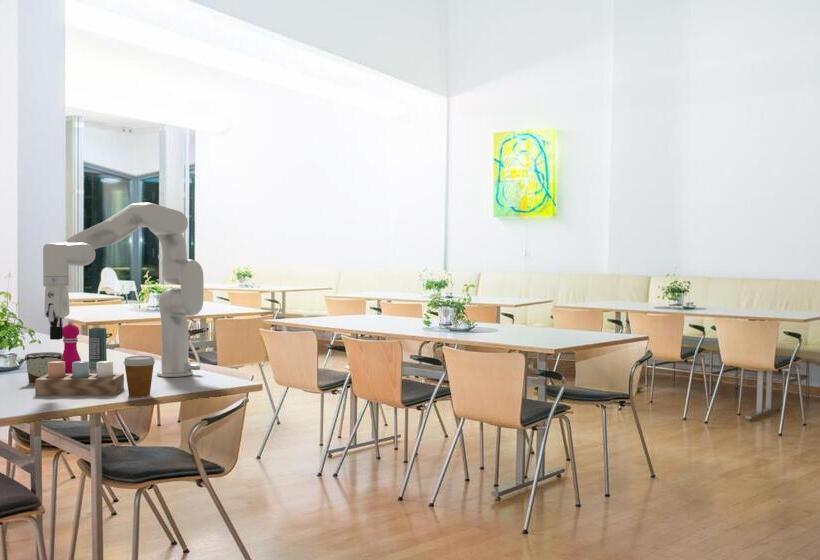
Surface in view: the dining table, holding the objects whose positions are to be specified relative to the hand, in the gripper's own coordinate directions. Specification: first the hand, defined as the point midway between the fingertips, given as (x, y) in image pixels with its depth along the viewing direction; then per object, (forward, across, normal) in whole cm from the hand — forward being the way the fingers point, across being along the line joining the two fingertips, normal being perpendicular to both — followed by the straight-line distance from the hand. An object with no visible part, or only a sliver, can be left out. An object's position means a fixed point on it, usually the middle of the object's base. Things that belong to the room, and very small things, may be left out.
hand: (56, 338), depth 264 cm
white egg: (+14, 0, -15) cm, 20 cm away
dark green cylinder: (+17, +55, +2) cm, 58 cm away
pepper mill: (+17, +35, +6) cm, 40 cm away
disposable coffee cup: (+17, -7, -28) cm, 33 cm away
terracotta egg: (+14, 0, 0) cm, 14 cm away
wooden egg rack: (+17, 0, -8) cm, 19 cm away
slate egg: (+14, 0, -8) cm, 16 cm away
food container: (+17, +20, +10) cm, 28 cm away
